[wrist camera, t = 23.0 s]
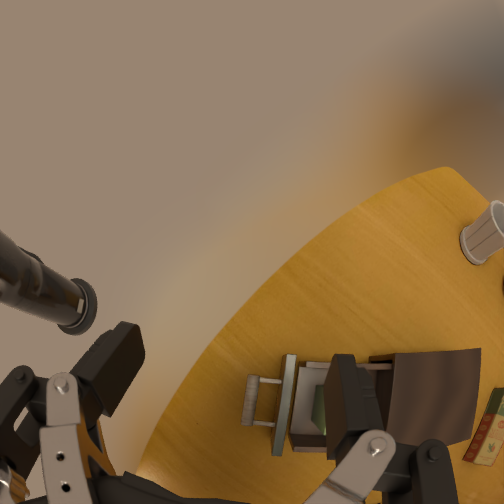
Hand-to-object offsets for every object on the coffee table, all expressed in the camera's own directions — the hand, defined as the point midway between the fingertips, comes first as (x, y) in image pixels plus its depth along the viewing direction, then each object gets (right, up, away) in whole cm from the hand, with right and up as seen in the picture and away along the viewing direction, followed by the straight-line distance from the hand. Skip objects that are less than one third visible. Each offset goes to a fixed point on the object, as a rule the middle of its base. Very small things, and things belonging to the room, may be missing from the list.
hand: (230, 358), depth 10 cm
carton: (+49, -31, +18) cm, 61 cm away
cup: (+49, +6, +34) cm, 60 cm away
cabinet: (+26, -20, +24) cm, 41 cm away
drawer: (+10, -18, +24) cm, 32 cm away
